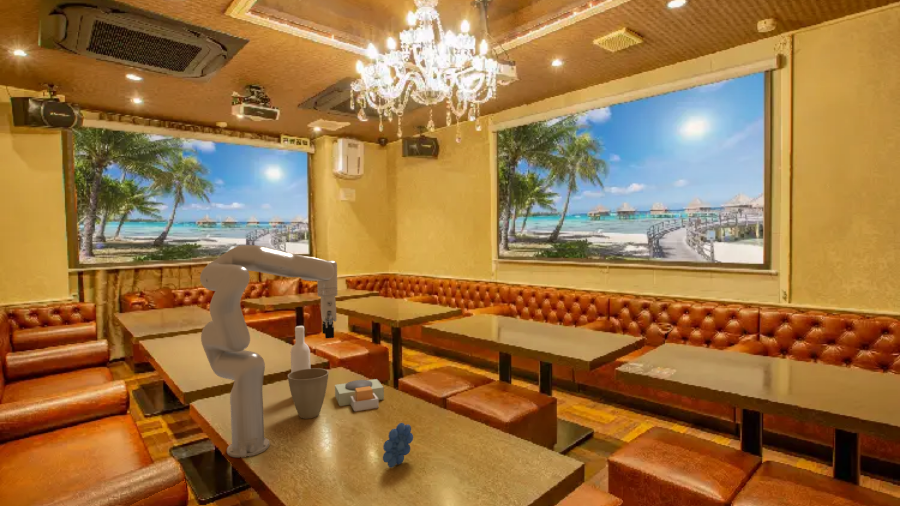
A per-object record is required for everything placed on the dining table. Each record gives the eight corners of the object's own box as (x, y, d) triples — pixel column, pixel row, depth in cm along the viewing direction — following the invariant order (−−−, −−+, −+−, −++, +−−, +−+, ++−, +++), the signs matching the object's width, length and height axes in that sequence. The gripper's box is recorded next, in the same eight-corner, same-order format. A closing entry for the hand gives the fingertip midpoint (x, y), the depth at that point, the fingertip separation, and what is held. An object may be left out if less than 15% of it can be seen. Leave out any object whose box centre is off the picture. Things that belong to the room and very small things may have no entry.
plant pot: (332, 418, 172) (330, 376, 171) (290, 425, 167) (288, 381, 166) (327, 405, 186) (326, 366, 185) (288, 411, 181) (286, 370, 180)
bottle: (291, 395, 198) (288, 325, 197) (310, 392, 202) (307, 324, 200) (293, 401, 191) (290, 329, 190) (312, 398, 194) (310, 327, 193)
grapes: (402, 452, 144) (402, 414, 144) (418, 459, 140) (417, 420, 140) (374, 467, 136) (373, 427, 135) (389, 474, 131) (388, 433, 131)
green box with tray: (389, 405, 184) (388, 391, 184) (343, 413, 177) (342, 398, 177) (377, 390, 203) (376, 377, 202) (335, 396, 196) (334, 383, 196)
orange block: (373, 406, 183) (372, 389, 183) (357, 409, 181) (357, 391, 181) (370, 403, 188) (370, 386, 187) (355, 405, 185) (355, 388, 185)
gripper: (340, 293, 174) (341, 339, 175) (334, 289, 190) (335, 331, 191) (319, 294, 171) (320, 340, 172) (315, 290, 188) (316, 332, 188)
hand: (328, 335), depth 181 cm, fingers open, 9 cm apart
